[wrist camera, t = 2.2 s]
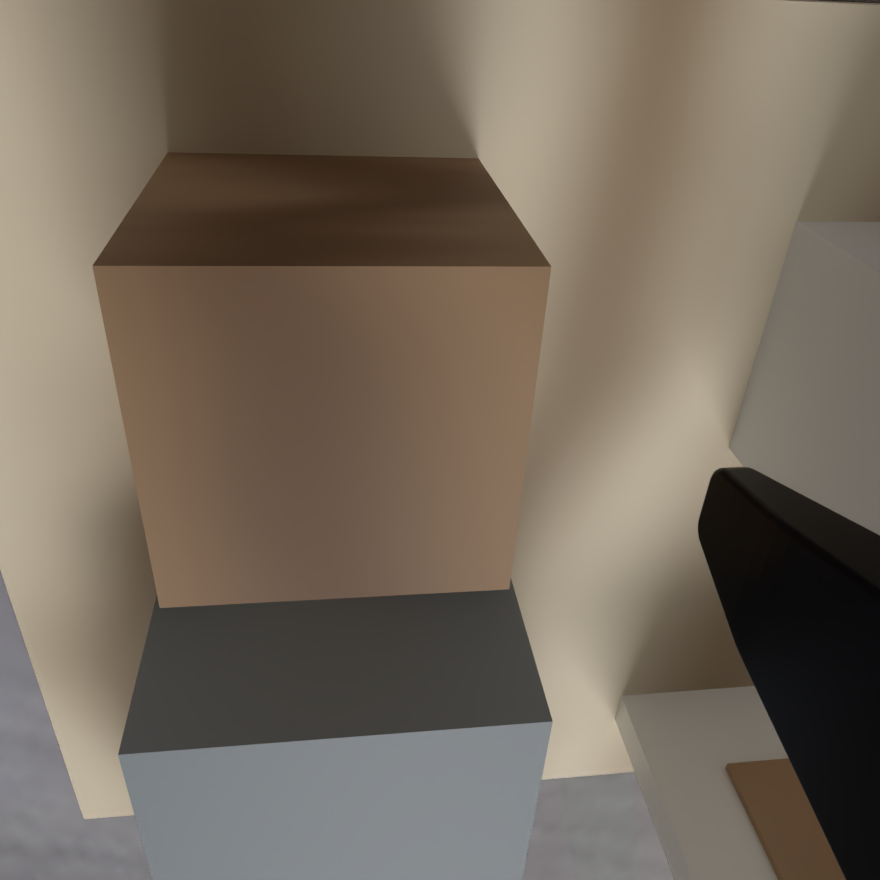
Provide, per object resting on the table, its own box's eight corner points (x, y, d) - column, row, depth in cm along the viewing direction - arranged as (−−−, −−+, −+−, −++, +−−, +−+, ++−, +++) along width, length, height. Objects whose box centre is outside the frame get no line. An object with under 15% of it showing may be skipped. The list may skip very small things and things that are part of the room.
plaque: (861, 673, 22) (1052, 938, 16) (847, 701, 23) (1027, 966, 17) (622, 690, 21) (736, 978, 16) (615, 719, 22) (721, 1006, 16)
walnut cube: (478, 158, 13) (551, 266, 9) (459, 415, 16) (508, 589, 12) (167, 152, 13) (92, 266, 8) (203, 421, 15) (160, 608, 11)
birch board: (1184, 18, 14) (1210, 22, 14) (827, 740, 25) (835, 753, 24) (-187, -50, 11) (-207, -49, 11) (88, 801, 22) (84, 819, 21)
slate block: (510, 578, 19) (552, 721, 15) (484, 784, 23) (512, 931, 20) (156, 596, 17) (117, 754, 14) (198, 809, 22) (176, 968, 18)
